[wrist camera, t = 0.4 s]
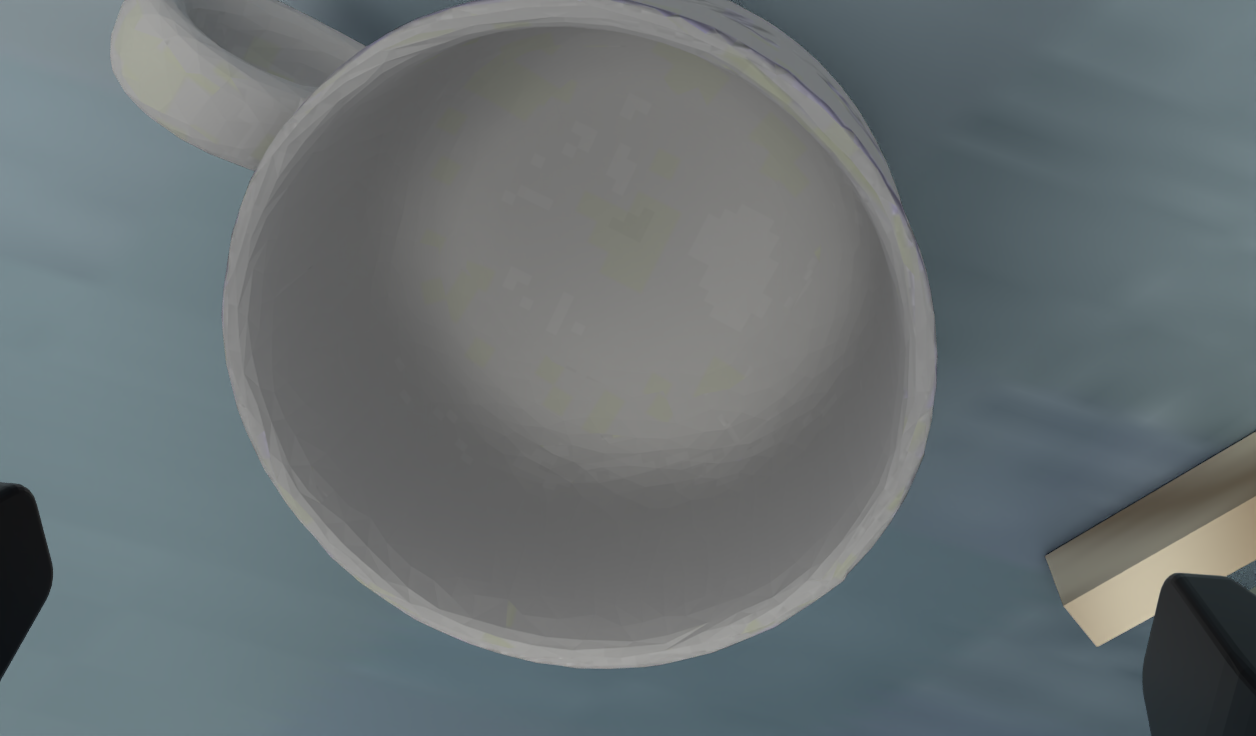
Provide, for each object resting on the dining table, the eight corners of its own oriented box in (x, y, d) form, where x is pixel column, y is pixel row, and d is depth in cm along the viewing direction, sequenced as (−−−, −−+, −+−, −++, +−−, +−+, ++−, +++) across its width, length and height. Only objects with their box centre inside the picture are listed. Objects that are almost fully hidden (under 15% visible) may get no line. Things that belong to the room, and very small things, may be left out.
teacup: (1011, 263, 23) (1104, 423, 16) (622, 559, 27) (552, 799, 20) (528, -300, 21) (375, -419, 14) (176, 109, 25) (-94, 190, 17)
